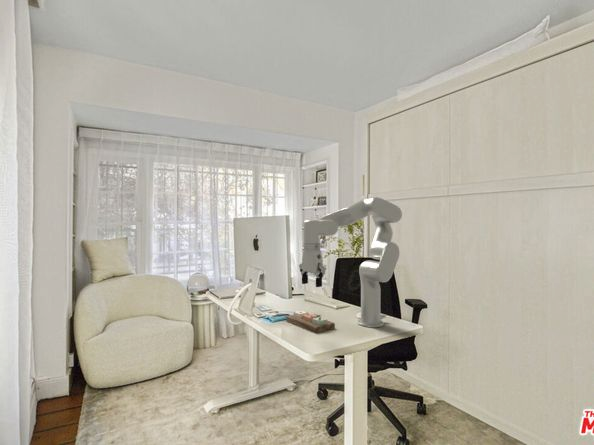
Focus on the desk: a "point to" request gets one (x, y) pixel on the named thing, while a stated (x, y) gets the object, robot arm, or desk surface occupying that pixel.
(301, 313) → the button one dot
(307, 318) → the button two dots
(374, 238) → the robot arm
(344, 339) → the desk surface
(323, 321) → the button three dots
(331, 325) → the button board
